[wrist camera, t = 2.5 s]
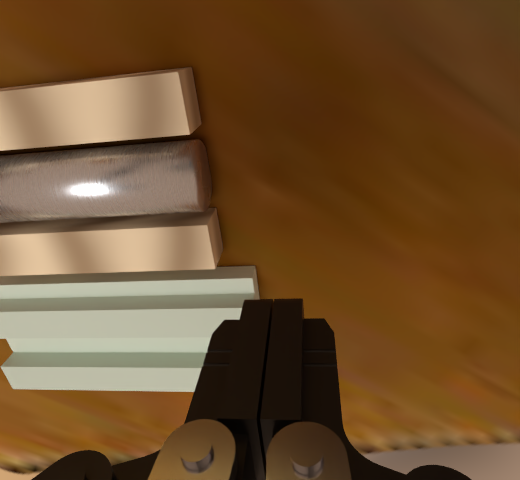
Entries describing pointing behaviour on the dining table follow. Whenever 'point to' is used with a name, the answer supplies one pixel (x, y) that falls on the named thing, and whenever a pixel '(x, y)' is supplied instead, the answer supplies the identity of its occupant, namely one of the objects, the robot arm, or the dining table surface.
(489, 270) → the dining table surface
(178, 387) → the grooved block
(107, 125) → the wooden blocks
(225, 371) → the robot arm
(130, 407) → the dining table surface
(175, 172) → the axle
